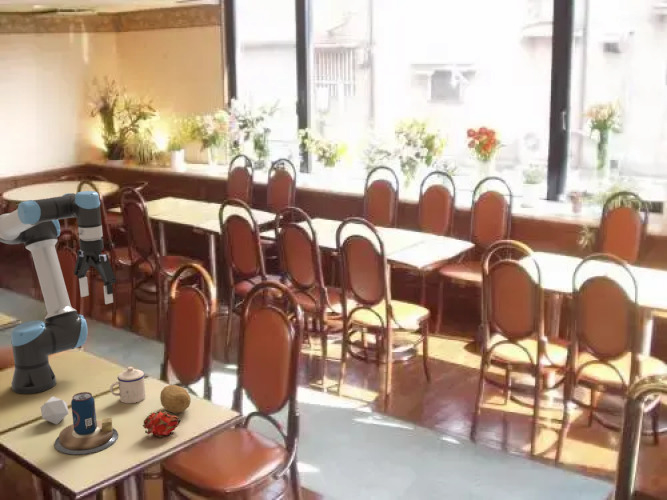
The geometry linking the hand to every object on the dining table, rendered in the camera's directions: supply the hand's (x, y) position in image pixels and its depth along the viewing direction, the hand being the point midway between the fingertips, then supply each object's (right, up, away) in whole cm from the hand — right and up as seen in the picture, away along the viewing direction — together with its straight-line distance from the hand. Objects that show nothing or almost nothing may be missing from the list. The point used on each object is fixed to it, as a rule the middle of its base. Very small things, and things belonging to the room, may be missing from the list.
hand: (96, 299), depth 273 cm
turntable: (+3, -43, -20) cm, 47 cm away
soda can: (+3, -40, -20) cm, 45 cm away
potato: (+27, -38, 0) cm, 46 cm away
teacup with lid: (+9, -36, +9) cm, 38 cm away
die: (-12, -40, -6) cm, 42 cm away
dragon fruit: (+26, -42, -17) cm, 52 cm away
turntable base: (+3, -43, -20) cm, 47 cm away
